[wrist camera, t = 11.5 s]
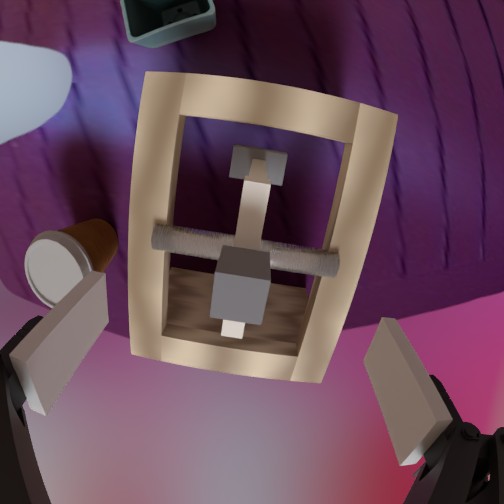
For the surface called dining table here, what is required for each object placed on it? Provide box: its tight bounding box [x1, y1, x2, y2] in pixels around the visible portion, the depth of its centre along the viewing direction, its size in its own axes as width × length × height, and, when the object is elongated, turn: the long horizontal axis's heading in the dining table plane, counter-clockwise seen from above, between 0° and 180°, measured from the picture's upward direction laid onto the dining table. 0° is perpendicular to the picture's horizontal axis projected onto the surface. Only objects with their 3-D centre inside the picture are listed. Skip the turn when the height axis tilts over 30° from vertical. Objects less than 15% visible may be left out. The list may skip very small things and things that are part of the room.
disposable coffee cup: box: [25, 218, 118, 308], centre depth 35 cm, size 10×10×12 cm
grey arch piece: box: [210, 144, 288, 339], centre depth 25 cm, size 5×13×16 cm, turn 171°
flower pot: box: [120, 0, 216, 48], centre depth 26 cm, size 9×9×9 cm
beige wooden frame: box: [128, 71, 398, 383], centre depth 30 cm, size 18×24×17 cm
